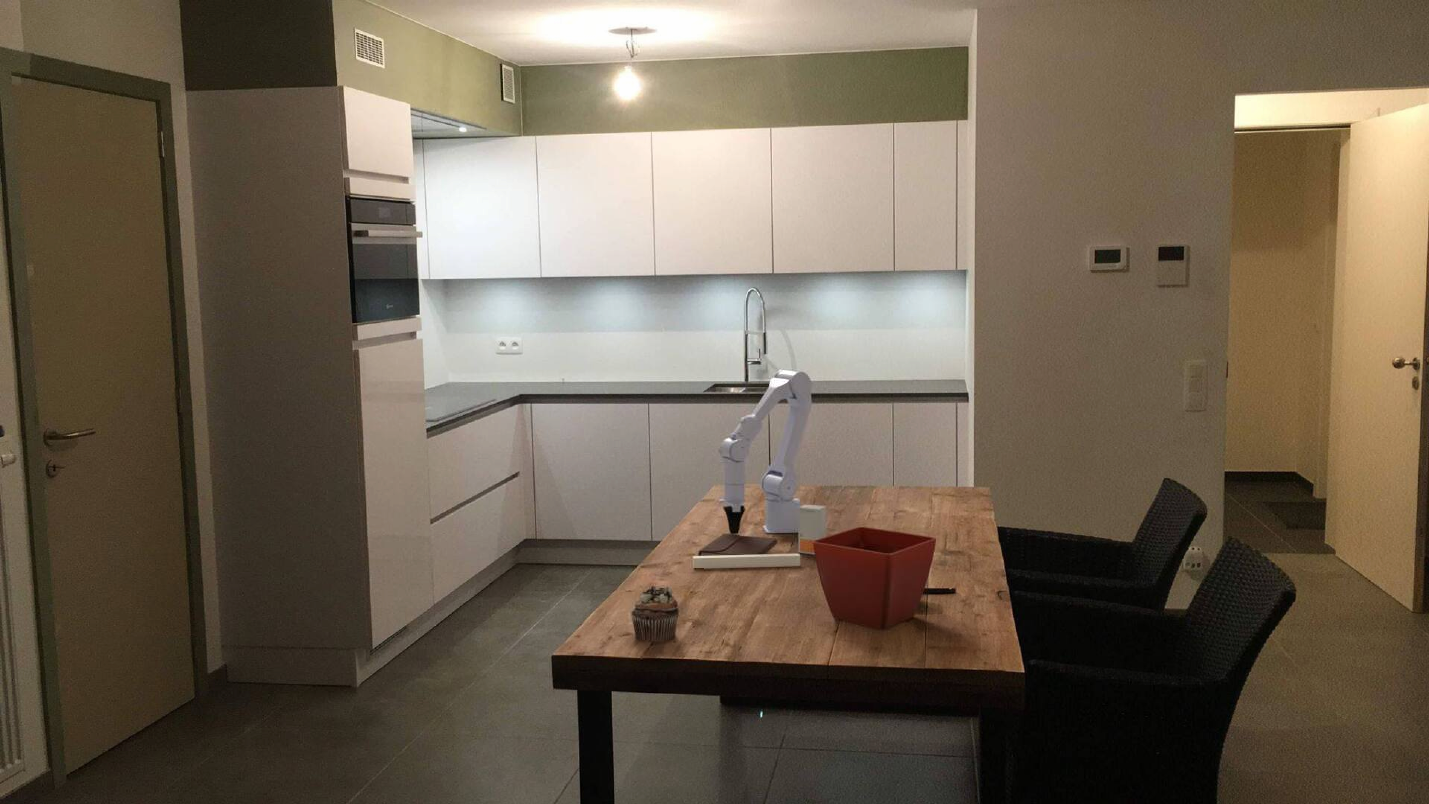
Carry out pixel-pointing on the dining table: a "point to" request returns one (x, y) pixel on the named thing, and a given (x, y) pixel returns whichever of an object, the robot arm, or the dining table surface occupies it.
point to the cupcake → (655, 615)
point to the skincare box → (811, 527)
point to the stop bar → (746, 561)
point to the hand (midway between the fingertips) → (734, 533)
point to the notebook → (737, 545)
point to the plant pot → (874, 574)
